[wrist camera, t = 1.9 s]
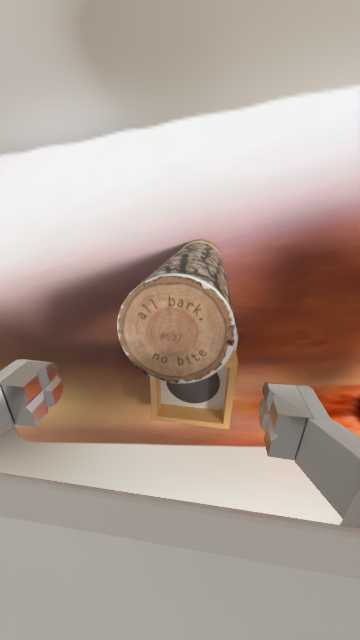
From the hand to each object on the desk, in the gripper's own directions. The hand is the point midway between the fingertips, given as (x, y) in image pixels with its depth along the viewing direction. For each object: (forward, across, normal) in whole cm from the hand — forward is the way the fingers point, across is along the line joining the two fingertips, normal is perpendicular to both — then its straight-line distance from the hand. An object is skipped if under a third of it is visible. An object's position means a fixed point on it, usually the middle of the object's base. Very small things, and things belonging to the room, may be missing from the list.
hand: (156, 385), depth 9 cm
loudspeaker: (+29, 0, +19) cm, 35 cm away
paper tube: (+30, 0, 0) cm, 30 cm away
